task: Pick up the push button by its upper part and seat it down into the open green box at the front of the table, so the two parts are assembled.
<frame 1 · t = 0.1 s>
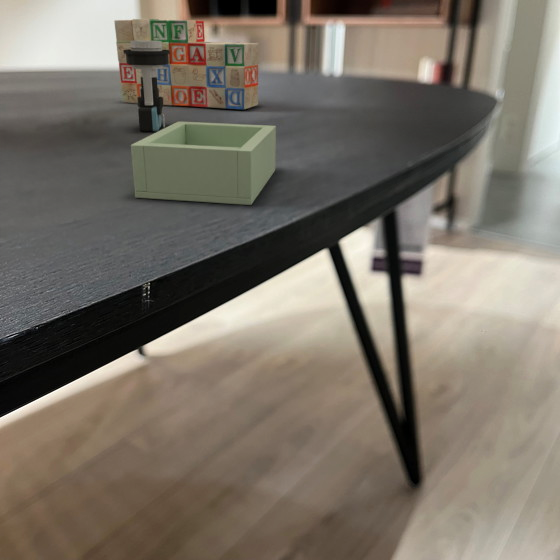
open green box: (211, 182, 48), on the table
stack of blocks: (190, 105, 91), on the table
push button: (153, 129, 71), on the table
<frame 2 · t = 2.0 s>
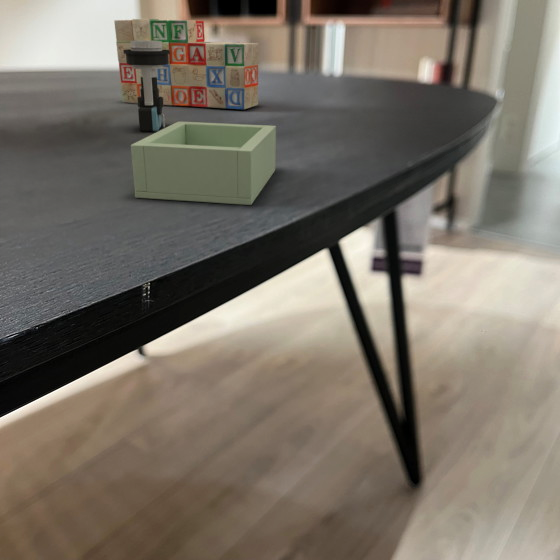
nothing on the table moved.
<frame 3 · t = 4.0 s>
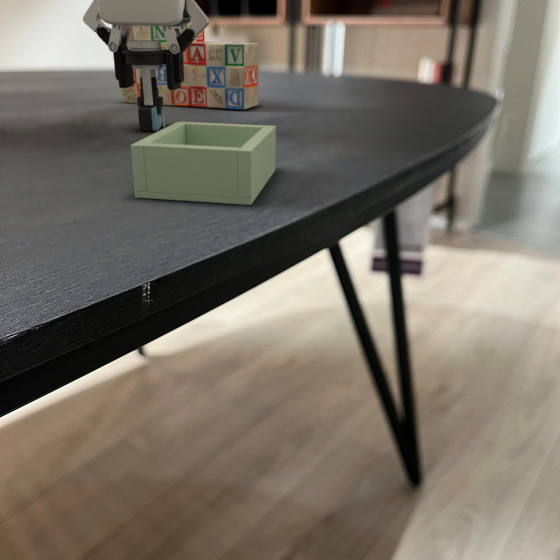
hand: (150, 86, 69), 5 cm above the table, tool pointing down, fingers closed on push button, 5 cm apart
push button: (153, 129, 71), on the table, touching gripper
everything else where it was.
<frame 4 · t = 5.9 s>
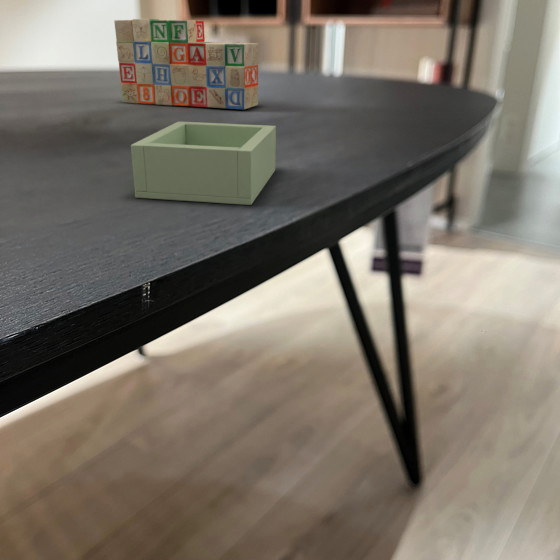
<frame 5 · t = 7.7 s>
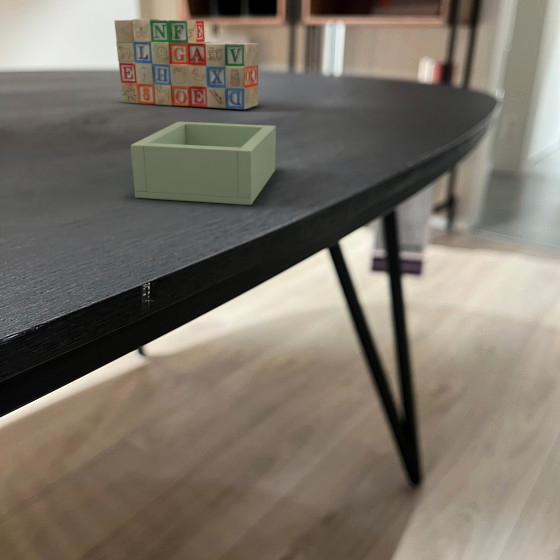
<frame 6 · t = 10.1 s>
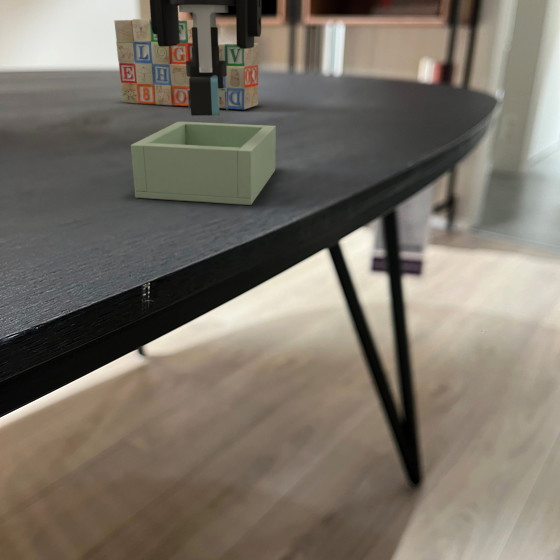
hand: (207, 44, 43), 11 cm above the table, tool pointing down, fingers closed on push button, 5 cm apart
push button: (208, 113, 45), point 6 cm above the table, touching gripper
everything else where it was.
when the fingers open (5 cm above the table, at t = 11.8 s): push button stays where it is, resting on open green box.
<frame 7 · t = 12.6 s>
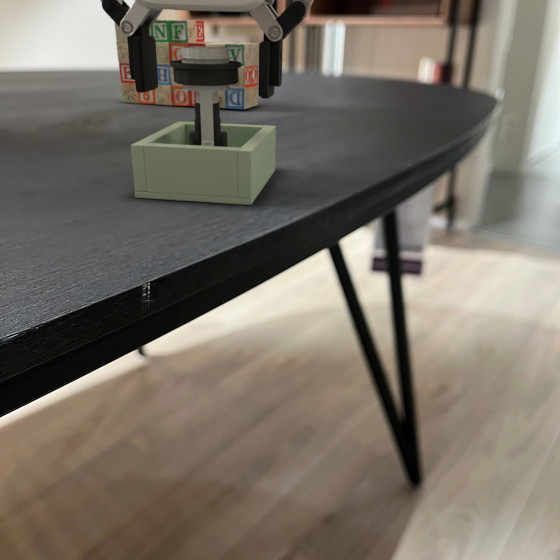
hand: (206, 93, 45), 7 cm above the table, tool pointing down, fingers open, 9 cm apart
push button: (209, 179, 48), resting on open green box
everything else where it was.
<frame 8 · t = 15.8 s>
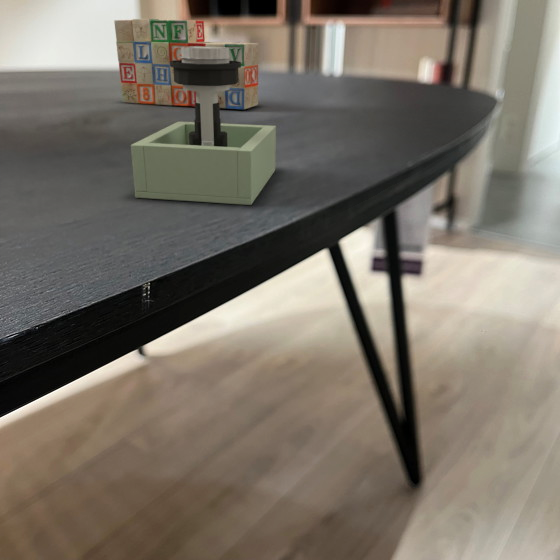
nothing on the table moved.
at the end: push button 0.1 cm off-centre in the open green box, point 0.3 cm above the open green box's base; push button tilted 0°; the gripper is holding nothing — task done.
